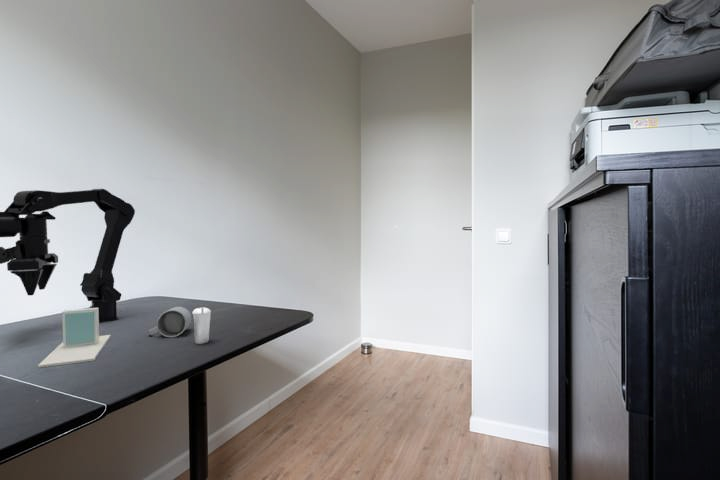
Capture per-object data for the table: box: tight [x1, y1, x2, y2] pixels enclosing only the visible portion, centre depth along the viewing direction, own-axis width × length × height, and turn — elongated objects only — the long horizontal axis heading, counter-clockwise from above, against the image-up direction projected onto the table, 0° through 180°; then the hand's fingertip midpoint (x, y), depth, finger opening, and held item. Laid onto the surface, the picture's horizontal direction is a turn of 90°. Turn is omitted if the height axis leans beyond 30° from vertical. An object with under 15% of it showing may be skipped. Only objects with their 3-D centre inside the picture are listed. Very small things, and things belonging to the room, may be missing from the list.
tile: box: [61, 307, 100, 348], centre depth 92 cm, size 2×7×9 cm, turn 116°
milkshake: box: [191, 306, 212, 345], centre depth 96 cm, size 4×5×10 cm
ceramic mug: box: [148, 306, 192, 338], centre depth 104 cm, size 11×8×8 cm
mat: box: [37, 334, 112, 369], centre depth 90 cm, size 20×10×1 cm, turn 26°
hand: (36, 292), depth 101 cm, fingers open, 9 cm apart
